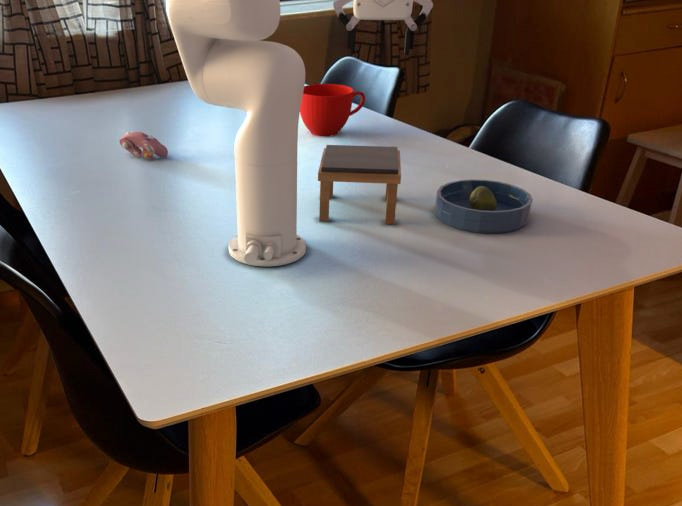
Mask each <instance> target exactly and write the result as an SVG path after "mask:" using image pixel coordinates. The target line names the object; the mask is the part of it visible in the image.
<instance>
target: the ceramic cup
mask: <svg viewBox="0 0 682 506" xmlns="http://www.w3.org/2000/svg"><path fill="white" fill-rule="evenodd" d="M357 95H360V97H361V99H360V102H359V104H358V105H357V107H355V108H354V109H352V108H353V107H352V106H353V99H354V98H355V97H356V96H357ZM365 102H366V95H365V93H364V92H363V91H361V90H356V91H354V89H353V88H352V87H350V86H348V85H343V84H338V83H337V84H336V83H315V84H307V85H304V91H303V96H302V101H301V107H300V114H299V116H300V118H301V121H302V122H303V124H304V126H305V127H306V129H307V131H309V132H310V134H311V135H312V136H314V137H315V136H316V137H322V138H323V137H327V138H328V137H334V136H337V135H339V133H340V131H341V130H342V129H343V128H344V127H345V125H346V124H347V122H348V120H349V118H350V116H353V115H354V114H356V113H357V112H359V111H361V109H362V108H363V107H364V104H365Z"/></svg>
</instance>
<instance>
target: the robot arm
mask: <svg viewBox="0 0 682 506" xmlns="http://www.w3.org/2000/svg"><path fill="white" fill-rule="evenodd" d="M351 2H352V5H353V6H352V11H353V15H352V16H351V18H349V16H348V15H346V13H345V11H344V8H343V7H344V6H345V5H347V4H349V3H351ZM414 2H415V3H417V4H418V5H420V6H422V8H421V11H420V12H419V13H418V15H416V17H414V18H413V17H412V16H411V15H412V12H413V6H414V5H413V4H414ZM165 5H166V6H165V7H166V14H167V18H168V23H169V26H170V29H171V32H172V35H173V38H174V41H175V45H176V48H177V50H178V54H179V57H180V60H181V63H182V66H183V69H184V72H185V75H186V77H187V80H188V83H189V85H190V88H191V89H192V91H193V93H194V95H195V96H196V97H197V98H198V100H200V101H202V102H204V103H206V104H208V105H212V106H217V107H224V108H229V109H236V110H239V111H244V112H246V117H245V119H244V121H243V123H242V124H241V126H240V127H239V129H238V131H237V133H236V136H235V140H234V144H233V145H234V146H233V147H234V148H233V149H234V152H233V153H234V173H235V198H236V199H235V201H236V225H237V226H236V227H237V235H236V236H234V237H233V238H232V239H231V240H230V241H229V243H228V253H229V255H230V257H231V258H233V259H234V260H236V261H238V262H239V263H241V264H244V265H249V266H253V267H265V268H267V267H268V268H269V267H278V266H284V265H289V264H291V263H294V262H297V261H299V260H300V259H301V258H303V257H304V256H305V254H306V253H307V252H306V251H307V243H306V240H305V239H304V238H302V237H301V236H300V235H299V234H298V233H297V232H298V231H297V230H298V229H297V226H298V225H297V223H298V220H297V219H298V141H299V139H298V138H299V135H298V134H299V121H300V107H301V101H302V96H303V91H304V86H306V67H305V63H304V61H303V59H302V57H301V56H300V54H299V53H298V52H297V51H296V50H295V49H294V48H292V47H291V46H289V45H285V44H283V43H280V42H276V41H268V40H265V39H268V38H269V37H270V36H273V34H274V33H275V32H276V31H277V29H278V27H279V24H280V21H281V1H280V0H165ZM332 6H333V9H334V12H335V14H336V16H337V18H338V20H339V22H340V23H341V24H342V25H343V26H344V27H345V29H346V30H347V41H346V42H347V44H346V45H347V46H346V49H347V50H350V55H351V56H354V55H355V54H356V38H357V37H356V36H357V29H356V26H357V24H359V22H360V21H361V20H364V21H404V23H405V25H407V26H406V27H407V28H406V29H405V33H404V34H405V35H404V46H403V54H404V55H405V56H409V55H410V50H414V44H415V43H414V42H415V31H417V29H418V28H419V27H420V26H421V25H422V24H423V23H424V22H425V21H426V20H427V17H428V16H429V14H430V13H431V11H432V9H433V7H434V3H433V1H432V0H335V1H334V2H333V3H332Z"/></svg>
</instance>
